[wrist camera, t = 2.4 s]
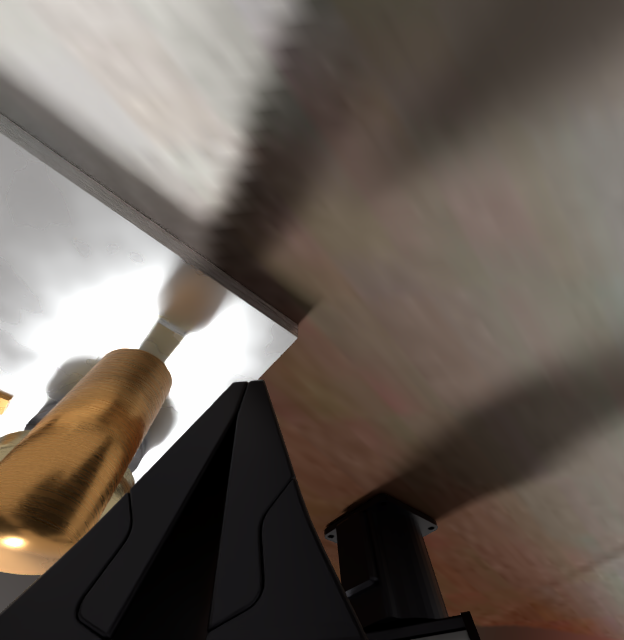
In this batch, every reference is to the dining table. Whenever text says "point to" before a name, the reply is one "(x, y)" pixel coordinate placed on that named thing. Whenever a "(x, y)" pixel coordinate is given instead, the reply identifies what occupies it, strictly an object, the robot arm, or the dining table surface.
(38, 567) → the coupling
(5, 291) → the base
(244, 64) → the dining table surface
